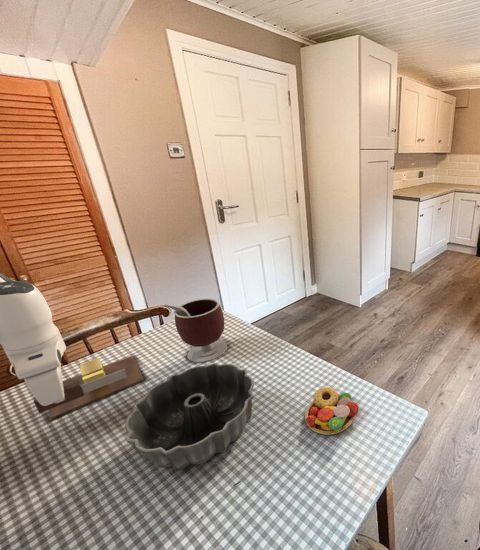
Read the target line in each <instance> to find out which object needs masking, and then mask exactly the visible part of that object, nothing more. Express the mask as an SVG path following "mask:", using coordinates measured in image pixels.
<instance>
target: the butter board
mask: <svg viewBox="0 0 480 550" xmlns="http://www.w3.org/2000/svg"><path fill="white" fill-rule="evenodd" d="M79 369H80V374H79V375H77V376H74V377H71V378H68V379H66V380H63V387H64V386H67V385H69V384H72V383H75V382H78V381H79V382H80V385H83V384H84V382H83V379H82V377H85V376H88V375H90V374H93V373H96V372H98V371H101V370H103V372H104V374H105V376H106V375H109V374H112V373H114V372H117V371H120V370H122V369H125V372H126V375H127V377H126V378H123V379H121V380H118V381H116V382H113V383H111V384H108V385H106V386H103V387H101V388H98V389H95V390H93V391H90V392H88V393H85V394H84V396H82V397H79V398H77V399H74V400H72V401H69V402H67V403H64V404H62V405H59V406H57V407H54V408H52V409H49V415H50V416H49V418H50V420H51V421H52V420H55V419H57V418H59V417H62V416H65V415H67V414H69V413H72V412H74V411H77V410H78V409H81V408H83V407H86V406H88V405H90V404H93V403H95V402H98V401H100V400H103V399H105V398H107V397H110V396H111V395H114V394H117V393H119V392H121V391H123V390H126V389H128V388H131V387H133V386H135V385H137V384H140V383H142V382H144V381H145V379H144V376H143V375H142V373H141V370H140V368H139V366H138V364H137V361H136V360H135V358H134V355H131V356H128V357H124V358H122V359H120V360H117V361H114V362H112V363H109V364H106V365H103V364H102V362H101V359H100V357H97V358H94V359H90V360H89V361H86V362H85V361H84V362H83V363H80V364H79Z"/></svg>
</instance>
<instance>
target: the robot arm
mask: <svg viewBox="0 0 480 550" xmlns="http://www.w3.org/2000/svg"><path fill="white" fill-rule="evenodd" d="M0 345H1V346H2V349H3V351H4V353H5V355H6V356H7V359H8V360H9V363H10V365H11V366H12V367H13V369H14V372H15V376H16V377H17V379H19V380H24V382H25V385H26V386H27V388H28V389H29V391H30V392H31V394H32V395H33V398H34V397H35V398H36V399H37V401H38V402H39V403H40V404H41V405H43V406H47V405H50V404H52V403H59V402H61V401H64V400H65V395H64V388H63V381H64V380H63V373H62V372H63V371H62V357H63V355H64V353H65V351H66V350H67V345H66V344H65V341H64V339H63V336H62V334H61V331H60V330H59V328H58V327H57V326H56V324H54V321H53V313H52V310H51V309H50V306H49V304H48V302H47V300H46V299H45V297H44V294H43V293H42V292H41V291H40V290H39V288H37V286H35V285H34V284H33V283H31V282H28V281H21V280H13V279H12V278H10V277H8V276H7V275H5V274H4V273H2V272H0Z"/></svg>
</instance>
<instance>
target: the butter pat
mask: <svg viewBox="0 0 480 550" xmlns="http://www.w3.org/2000/svg"><path fill="white" fill-rule="evenodd" d="M104 376H105V374H104V372H103V370H101V371H98V372H96V373H93V374H90V375H88V376H85V377H82V379H83V382H84V384H85V383H88V382H91V381H93V380H96V379H99V378H101V377H104Z"/></svg>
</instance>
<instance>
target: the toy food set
mask: <svg viewBox="0 0 480 550" xmlns="http://www.w3.org/2000/svg"><path fill="white" fill-rule="evenodd" d="M359 410H360V408H359V405H358V403H357V402H355V401H352V395H351V394H350V393H349V392H343V393H338V392H337V390H336V389H335V388H334V387H331V386H323V387H320V388H319V389H317V390H316V391H315V393H314V394H313V400H312V401H311V402H310V403H309V405H308V406H307V407H306V410H305V413H304V421H305V423H306V425H307V426H308V428H309V429H310V430H312V431H313V432H315V433H317V434H319V435H329V436H331V435H335V434H339V433H341V432H343V431H345V430H347V428H349V427H350V426H351V425H352V423H353V422H354V420H355V418H356V415H357V414H358V413H359Z"/></svg>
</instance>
